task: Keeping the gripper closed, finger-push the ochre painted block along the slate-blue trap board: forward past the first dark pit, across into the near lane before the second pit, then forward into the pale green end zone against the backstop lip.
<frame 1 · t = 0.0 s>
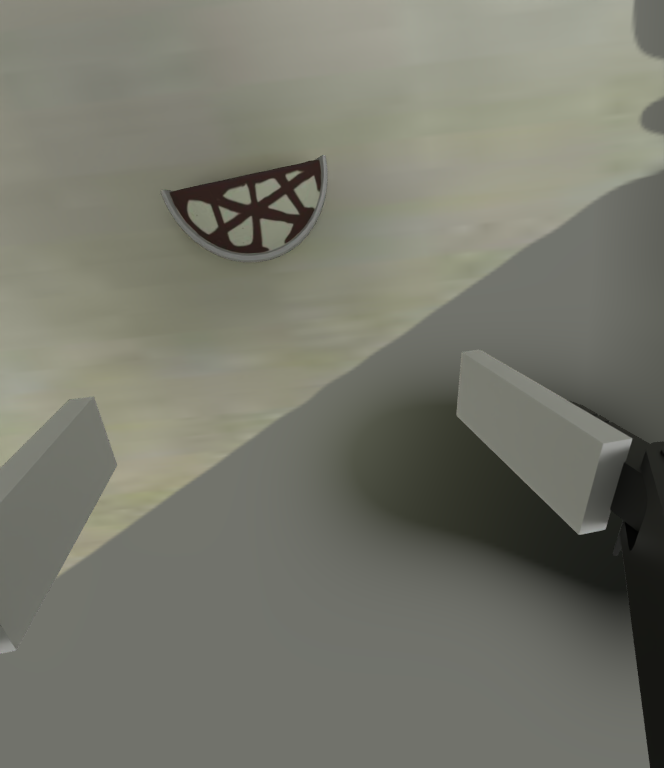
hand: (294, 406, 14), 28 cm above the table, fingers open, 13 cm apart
brown semicircular wedge: (255, 218, 37), on the table
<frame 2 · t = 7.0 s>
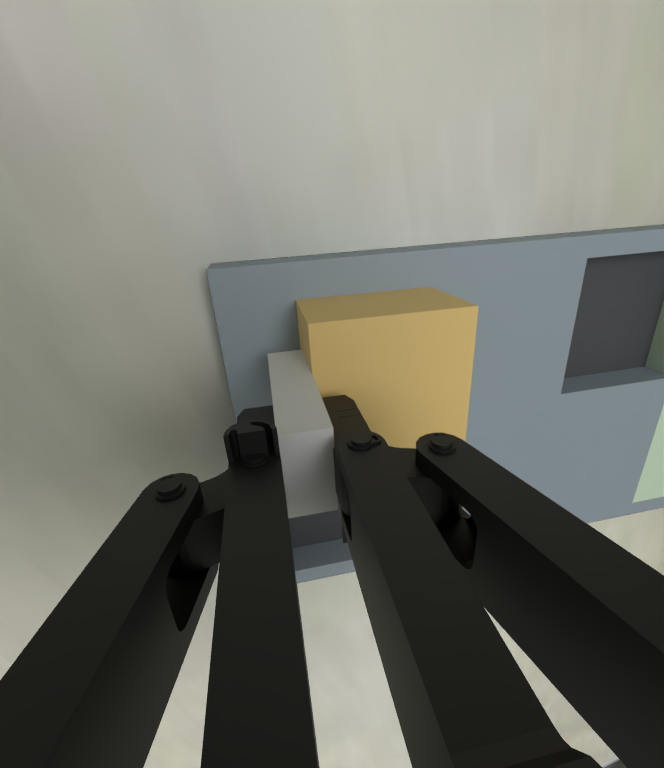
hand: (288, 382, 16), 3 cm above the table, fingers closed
ochre block: (366, 358, 18), point 2 cm above the table, touching gripper
trap board: (502, 400, 23), on the table
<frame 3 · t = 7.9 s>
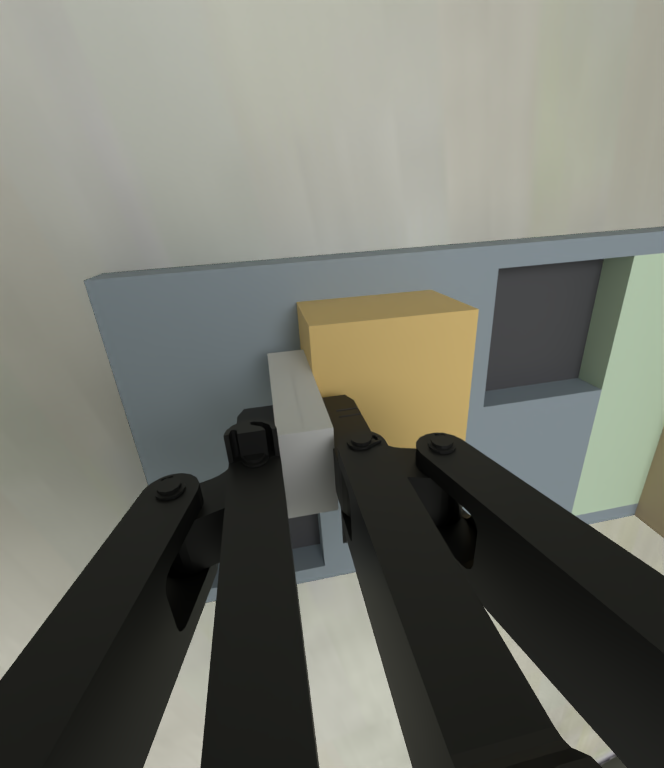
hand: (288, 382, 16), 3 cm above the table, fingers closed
ochre block: (366, 360, 18), point 2 cm above the table, touching gripper, trap board
trap board: (430, 412, 22), on the table
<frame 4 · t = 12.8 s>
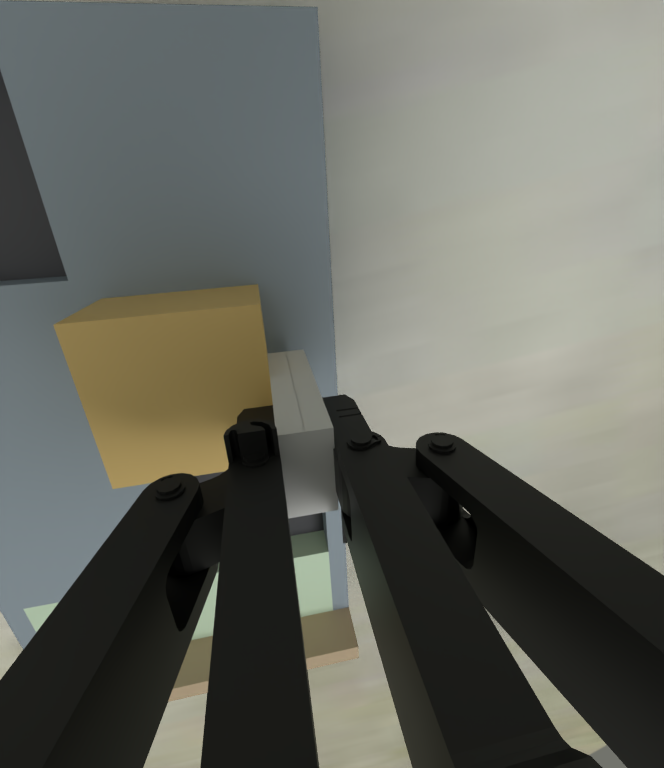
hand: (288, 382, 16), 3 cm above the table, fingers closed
ochre block: (197, 361, 17), point 2 cm above the table, touching gripper, trap board
trap board: (153, 416, 19), on the table
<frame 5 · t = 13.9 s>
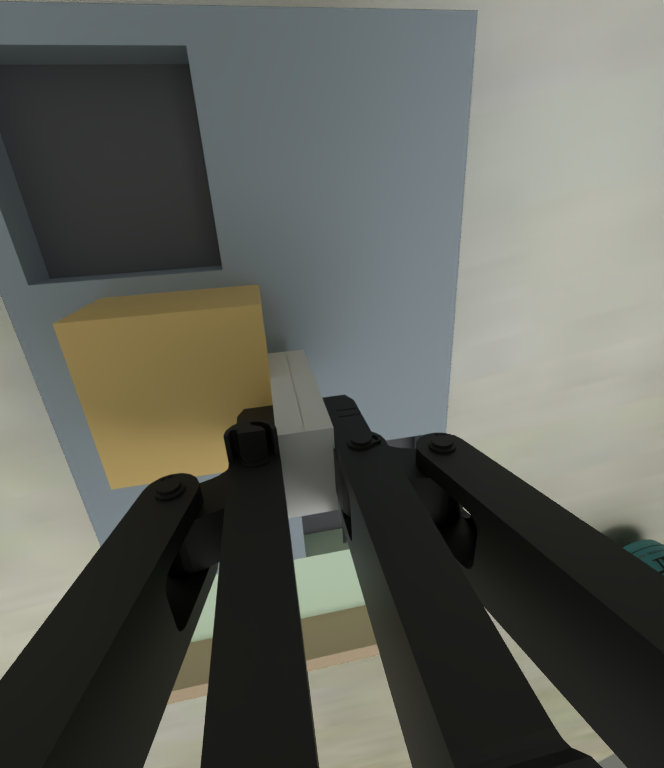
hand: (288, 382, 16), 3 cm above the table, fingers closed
ochre block: (197, 362, 17), point 2 cm above the table, touching gripper
beverage bottle: (610, 551, 31), on the table
trap board: (267, 403, 20), on the table
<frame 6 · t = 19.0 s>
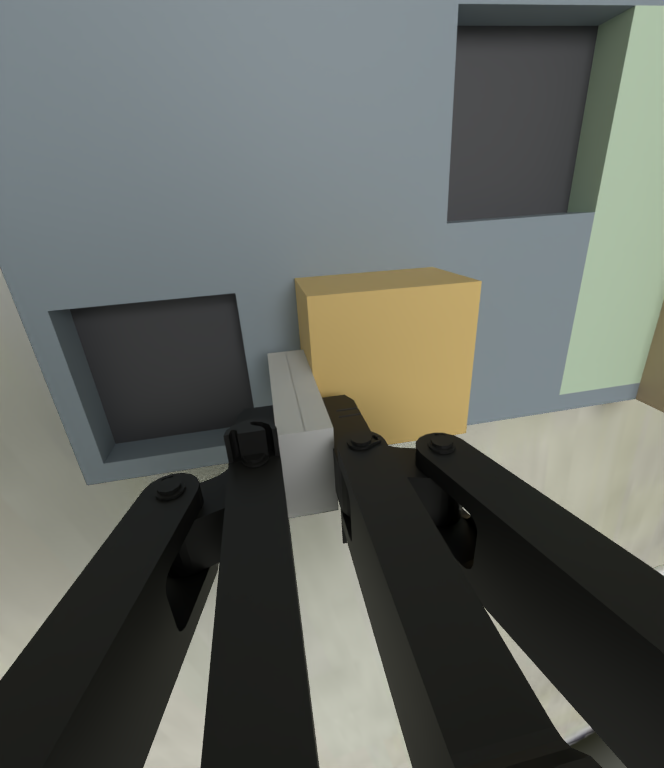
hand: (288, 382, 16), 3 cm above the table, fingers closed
ochre block: (366, 340, 18), point 2 cm above the table
trap board: (386, 249, 18), on the table
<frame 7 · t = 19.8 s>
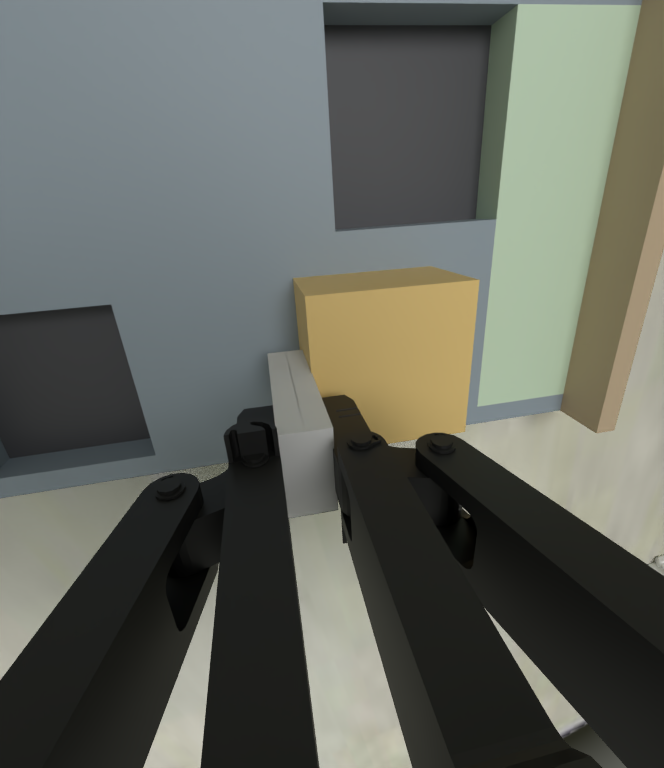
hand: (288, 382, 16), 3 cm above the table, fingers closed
ochre block: (365, 340, 18), point 2 cm above the table, touching gripper, trap board
trap board: (284, 257, 17), on the table
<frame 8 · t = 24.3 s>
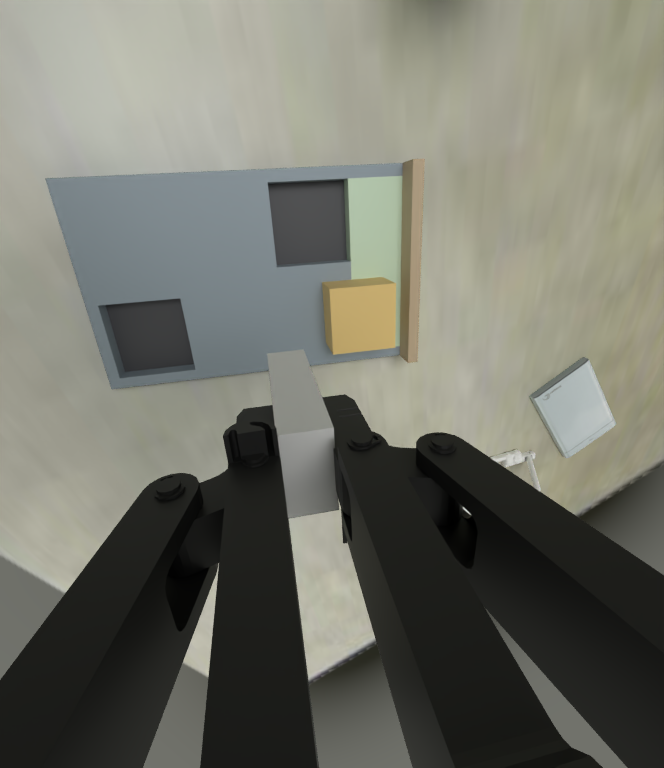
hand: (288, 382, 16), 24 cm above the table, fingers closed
ochre block: (353, 310, 39), point 2 cm above the table, touching trap board
white bracket stand: (485, 497, 55), on the table
trap board: (256, 277, 38), on the table
hard drive: (568, 406, 52), on the table
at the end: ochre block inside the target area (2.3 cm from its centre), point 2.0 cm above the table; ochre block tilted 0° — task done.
